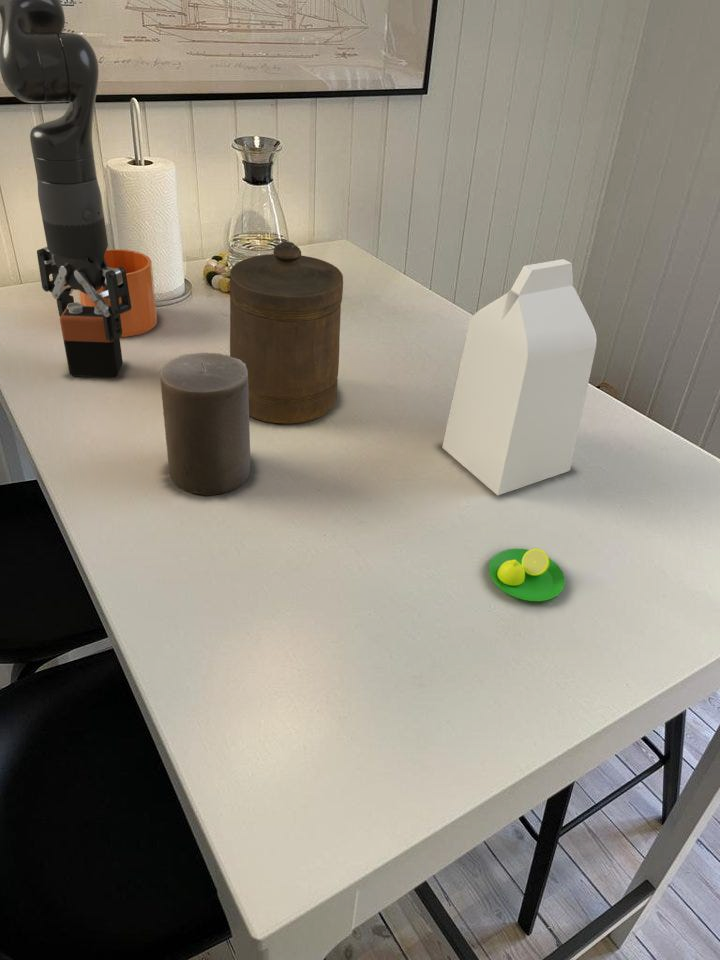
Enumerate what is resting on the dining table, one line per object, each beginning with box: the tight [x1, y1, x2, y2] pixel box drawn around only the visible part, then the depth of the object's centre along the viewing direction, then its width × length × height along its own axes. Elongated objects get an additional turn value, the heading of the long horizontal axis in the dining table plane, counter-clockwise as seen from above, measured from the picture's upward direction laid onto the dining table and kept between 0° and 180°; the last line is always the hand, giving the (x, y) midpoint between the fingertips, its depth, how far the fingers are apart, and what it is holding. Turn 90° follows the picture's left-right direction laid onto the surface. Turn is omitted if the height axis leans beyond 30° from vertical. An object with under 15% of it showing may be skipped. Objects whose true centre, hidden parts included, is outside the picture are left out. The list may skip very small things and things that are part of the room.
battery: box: [59, 301, 124, 378], centre depth 106 cm, size 4×7×10 cm, turn 93°
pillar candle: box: [159, 352, 252, 496], centre depth 87 cm, size 10×10×15 cm
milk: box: [441, 258, 598, 496], centre depth 90 cm, size 12×12×26 cm
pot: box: [77, 248, 158, 338], centre depth 120 cm, size 11×11×10 cm
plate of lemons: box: [488, 548, 566, 602], centre depth 79 cm, size 8×8×3 cm
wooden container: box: [229, 241, 344, 424], centre depth 100 cm, size 15×15×22 cm
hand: (91, 330), depth 105 cm, fingers open, 8 cm apart
